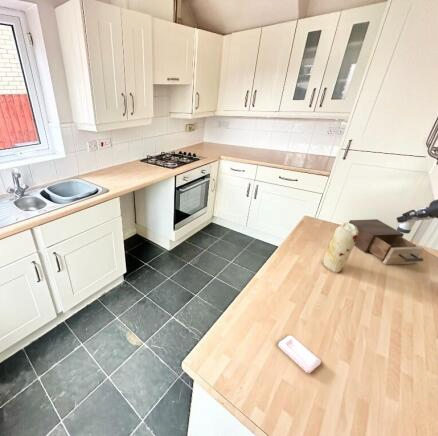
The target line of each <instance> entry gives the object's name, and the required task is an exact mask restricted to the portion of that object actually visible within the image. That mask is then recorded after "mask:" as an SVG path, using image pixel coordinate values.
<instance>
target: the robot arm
mask: <svg viewBox="0 0 438 436" xmlns="http://www.w3.org/2000/svg"><path fill="white" fill-rule="evenodd" d="M413 219H414V220H416V222H418V221H424V220H426V221H427V220H429V221H430V220H432V219H438V199H434V200H432V201H430V203H429V205H428V206H425V207H421V208H420V209H411V210H408V211H406V212H403V213H402V214H401V216H398V217H396V220H397V223H401V222H405V221H410V220H413Z"/></svg>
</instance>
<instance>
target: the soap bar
mask: <svg viewBox="0 0 438 436" xmlns="http://www.w3.org/2000/svg"><path fill="white" fill-rule="evenodd" d="M278 347H279V349H281V351H283V352H284V353H285V354H286V355H287V356H288V357H290V359H291V360H292V361H294V362H295V363H296V364H297V365H298V366H299V367H300V368H301V369H302V370H303V371H304V372H305V373H306V374H311V373H312V372H314V371H315V370H316V369H317V368H318V367H319V366H320V365H321V364H322V360H321V359H320V358H319V357H318V356H316V355H315V354H314V353H313V352H311V350H309V349H308V348H307V347H305V346H304V345H303V344H302V343H301V342H300V341H299V340H297V339H296V338H295V337H294V336H293V335H287V336H286V337H285V338H283V339H282V340H281V341H279V343H278Z"/></svg>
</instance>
